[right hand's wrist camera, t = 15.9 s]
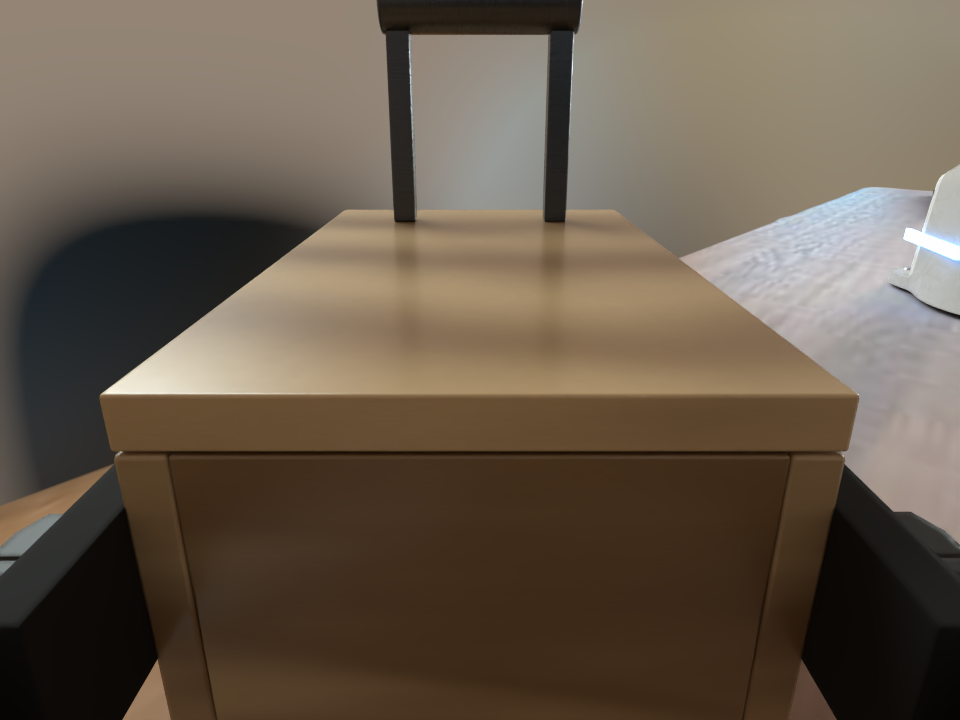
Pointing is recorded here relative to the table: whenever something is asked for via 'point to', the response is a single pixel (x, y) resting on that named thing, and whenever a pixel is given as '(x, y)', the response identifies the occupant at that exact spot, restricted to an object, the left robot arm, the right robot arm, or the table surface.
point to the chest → (479, 581)
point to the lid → (479, 321)
